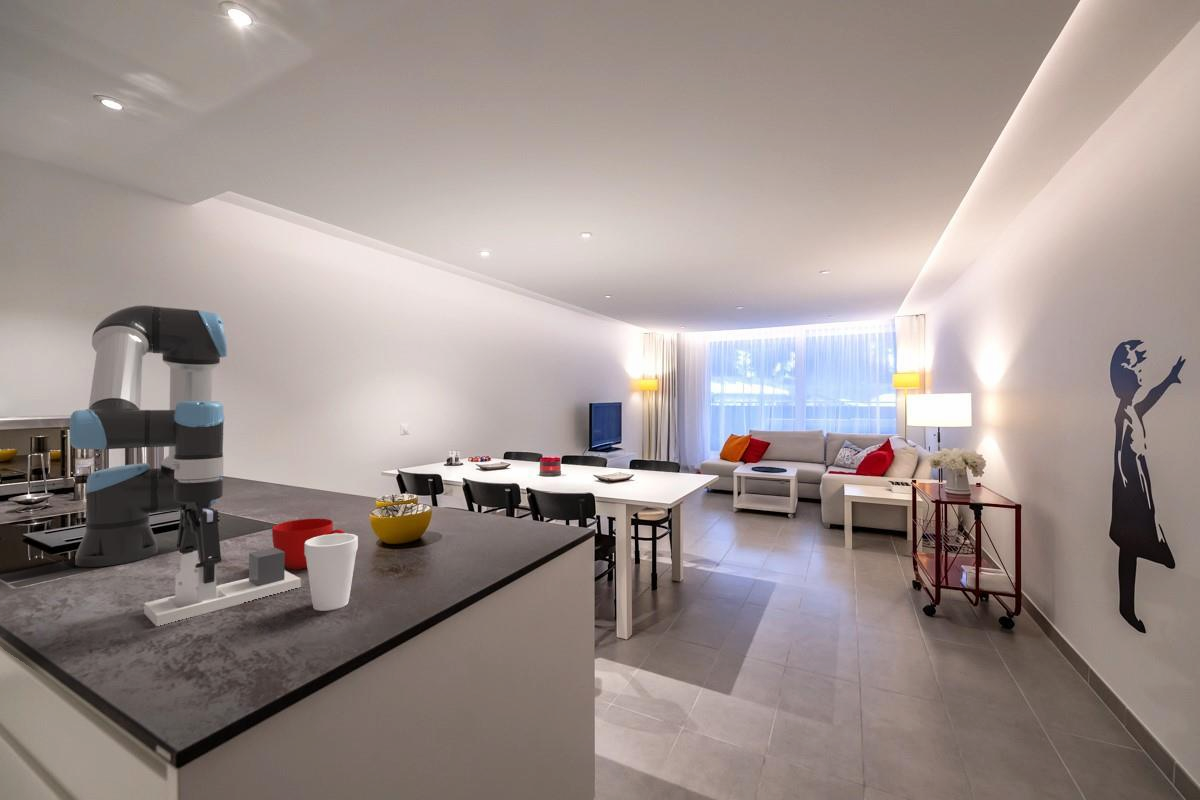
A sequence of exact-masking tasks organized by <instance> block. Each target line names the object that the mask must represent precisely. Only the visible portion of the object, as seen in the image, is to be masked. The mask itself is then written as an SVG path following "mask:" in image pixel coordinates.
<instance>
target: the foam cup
mask: <svg viewBox="0 0 1200 800" xmlns="http://www.w3.org/2000/svg"><path fill="white" fill-rule="evenodd" d="M358 542H359V536H358V535H356V534H354V533H345V532H344V533H343V534H340V533H333V534H329V535H322V536H318V537H314V538H311V539H309V540H307V541H306V542H305V551H304V555H305V556H306V561H307V568H306V569H307V574H308V581H309V582H308V583H309V589H310V597H311V602H312V608H313V610H315V611H321V612H323V611H324V612H325V611H327V612H328V611H334V610H338V609H341V608H343V607H345V606H346V605H348V604H349V601H350V595H351V591H352V590H351V588H352V583H353V582H352V581H353V575H354V569H355V563H356V561H355V560H356V556H357V551H358V547H359V543H358Z"/></svg>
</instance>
